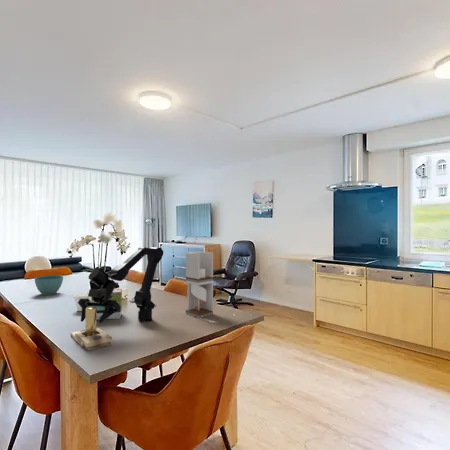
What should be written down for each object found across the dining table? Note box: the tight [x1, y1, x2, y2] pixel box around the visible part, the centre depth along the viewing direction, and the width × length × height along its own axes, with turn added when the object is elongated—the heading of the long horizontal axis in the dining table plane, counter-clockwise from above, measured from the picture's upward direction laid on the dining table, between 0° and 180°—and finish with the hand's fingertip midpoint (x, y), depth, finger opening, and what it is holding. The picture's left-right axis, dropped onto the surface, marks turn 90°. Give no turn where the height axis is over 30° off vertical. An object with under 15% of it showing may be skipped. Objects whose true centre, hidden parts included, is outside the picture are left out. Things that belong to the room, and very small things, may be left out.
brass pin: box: [84, 307, 97, 337], centre depth 130 cm, size 4×4×14 cm
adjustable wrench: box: [128, 297, 157, 307], centre depth 194 cm, size 25×6×2 cm, turn 49°
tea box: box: [91, 288, 123, 321], centre depth 165 cm, size 15×10×15 cm, turn 105°
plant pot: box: [34, 275, 64, 296], centre depth 222 cm, size 18×18×12 cm
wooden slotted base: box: [70, 327, 113, 351], centre depth 130 cm, size 10×22×4 cm, turn 42°
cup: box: [73, 292, 91, 313], centre depth 178 cm, size 10×10×9 cm
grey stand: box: [185, 251, 214, 318], centre depth 171 cm, size 11×11×35 cm
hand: (90, 322), depth 130 cm, fingers open, 9 cm apart
